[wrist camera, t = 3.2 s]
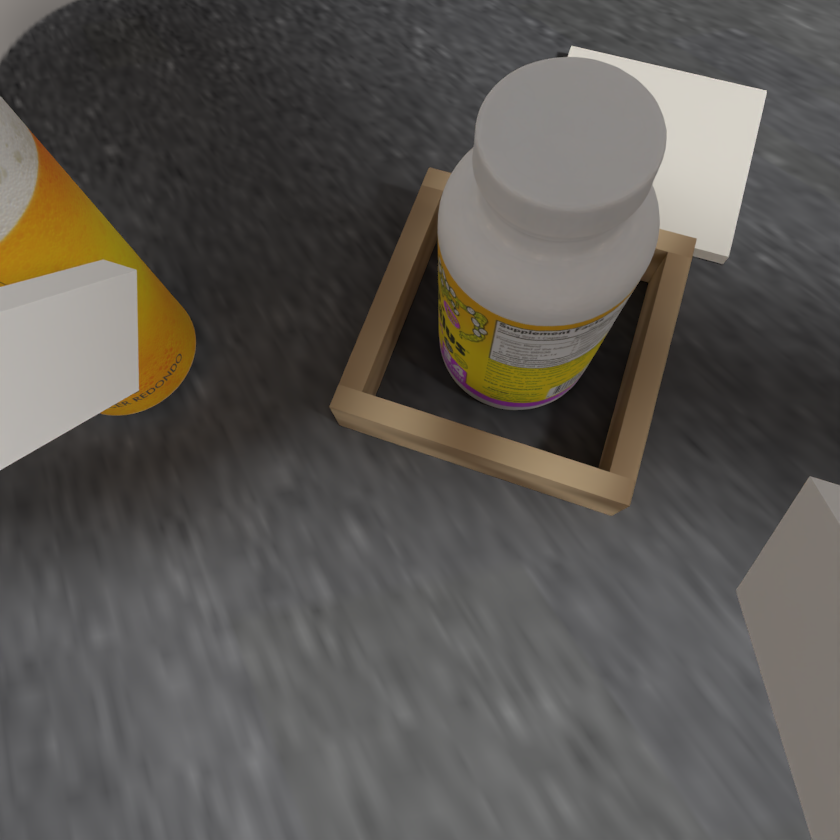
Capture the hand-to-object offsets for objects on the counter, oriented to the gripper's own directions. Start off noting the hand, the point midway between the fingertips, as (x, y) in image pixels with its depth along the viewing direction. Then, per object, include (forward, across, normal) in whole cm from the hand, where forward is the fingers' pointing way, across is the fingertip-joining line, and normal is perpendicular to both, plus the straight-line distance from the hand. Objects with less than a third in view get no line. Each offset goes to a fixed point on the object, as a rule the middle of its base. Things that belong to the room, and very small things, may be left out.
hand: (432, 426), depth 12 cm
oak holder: (+16, +1, -4) cm, 16 cm away
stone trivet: (+24, +4, +5) cm, 25 cm away
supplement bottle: (+16, +1, -4) cm, 16 cm away
